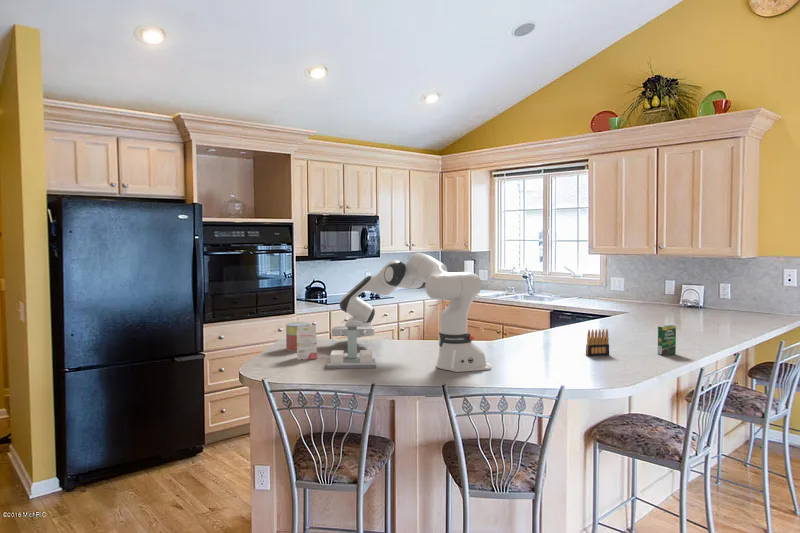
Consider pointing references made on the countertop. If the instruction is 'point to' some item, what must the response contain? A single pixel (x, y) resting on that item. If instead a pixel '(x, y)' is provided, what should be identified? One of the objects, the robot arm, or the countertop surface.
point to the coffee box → (666, 340)
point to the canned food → (293, 335)
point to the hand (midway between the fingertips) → (352, 334)
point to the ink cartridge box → (306, 342)
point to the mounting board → (351, 360)
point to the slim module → (352, 341)
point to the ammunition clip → (597, 343)
